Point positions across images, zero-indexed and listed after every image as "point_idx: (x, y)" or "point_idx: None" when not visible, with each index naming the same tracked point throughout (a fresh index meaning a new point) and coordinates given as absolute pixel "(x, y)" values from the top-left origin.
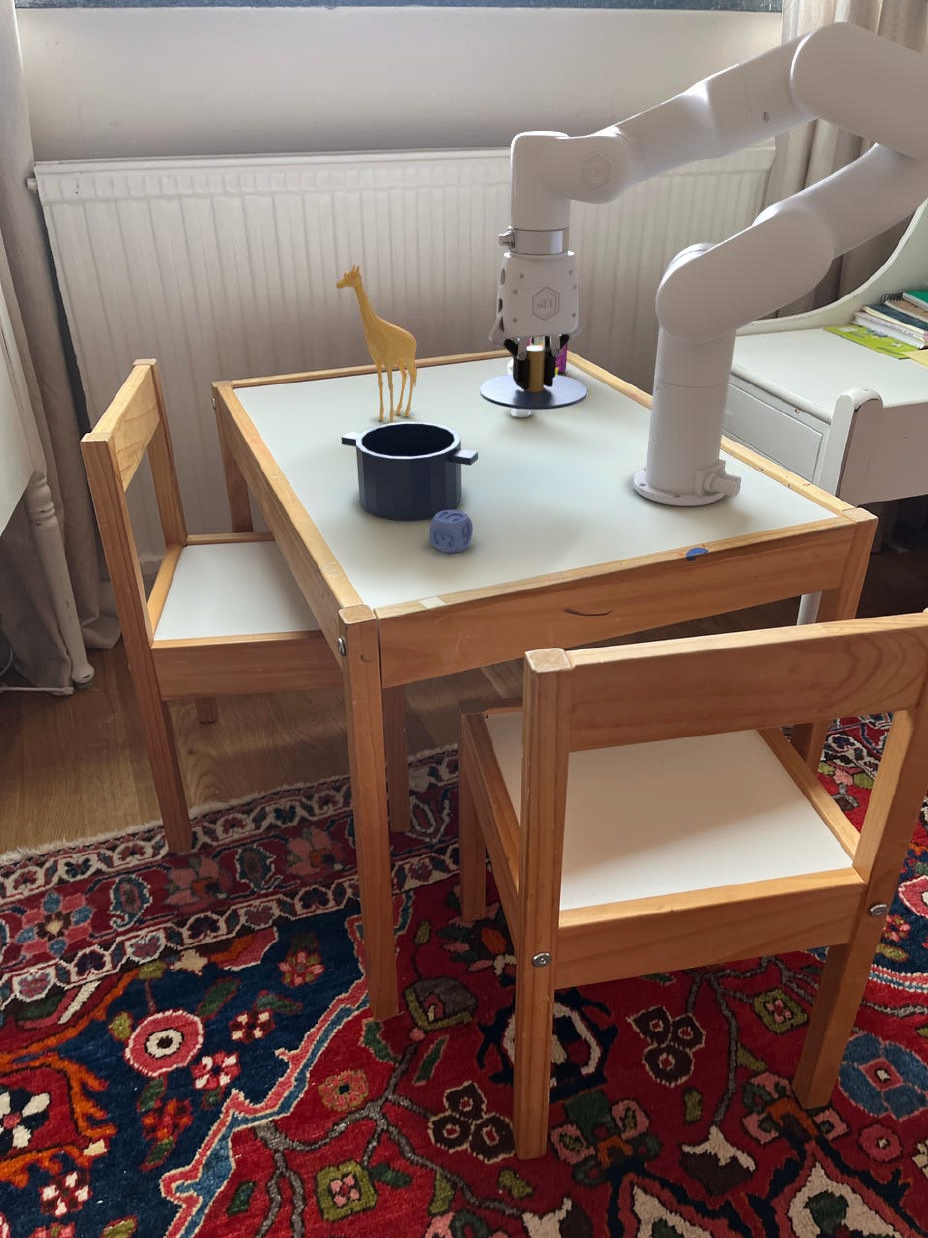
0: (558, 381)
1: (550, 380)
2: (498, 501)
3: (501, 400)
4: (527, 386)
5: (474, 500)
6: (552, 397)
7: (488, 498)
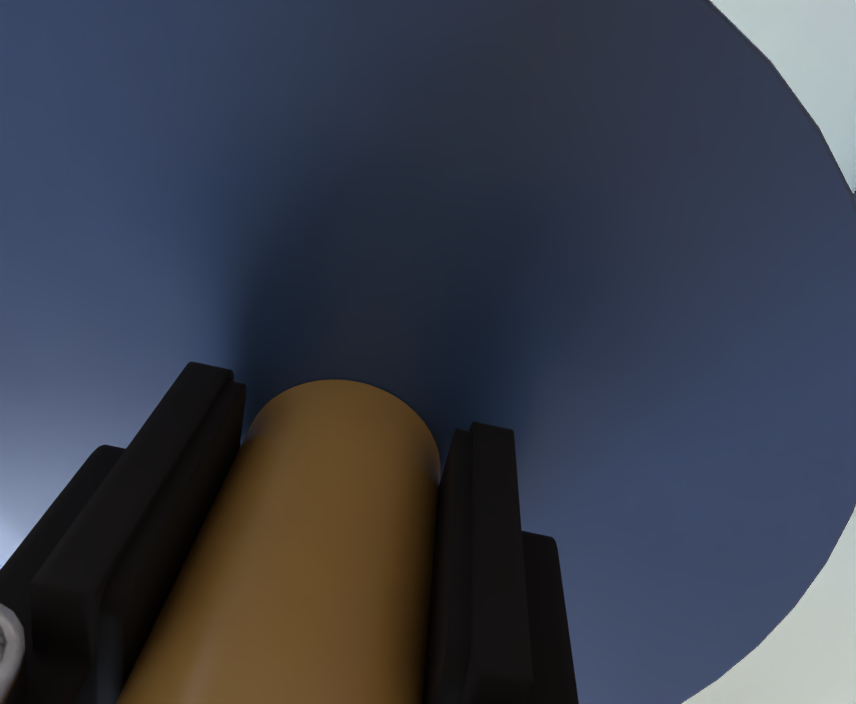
0: (29, 494)
1: (200, 390)
2: (771, 4)
3: (834, 367)
4: (481, 431)
5: (853, 91)
6: (327, 154)
7: (781, 71)
